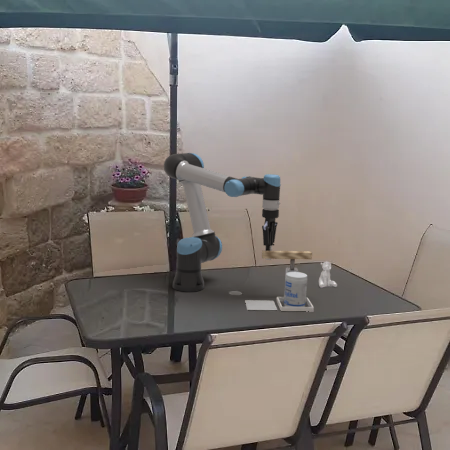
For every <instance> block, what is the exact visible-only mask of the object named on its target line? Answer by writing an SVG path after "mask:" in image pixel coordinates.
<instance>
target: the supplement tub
mask: <svg viewBox="0 0 450 450" xmlns="http://www.w3.org/2000/svg"><path fill="white" fill-rule="evenodd" d="M285 274H286V278H285V277H284V278H285V279H284V292H283V293H284V294H283V297H284V302H283V307H306V303H307V302H306V297H307V286H308V275H307V274H306V273H304V272H300V271H298V272H288V273H286V272H285Z"/></svg>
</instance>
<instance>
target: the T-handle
mask: <svg viewBox="0 0 450 450" xmlns="http://www.w3.org/2000/svg"><path fill="white" fill-rule="evenodd" d="M261 259H263V260H266V259H271V260H274V259H275V260H290V261H289V268H290V269H294V268H295V266H296V264H295V263H296V261H295V260H312V259H313V252H312V251H308V250H306V251H305V250H303V251H301V250H300V251H299V250H272V251H265V250H261Z"/></svg>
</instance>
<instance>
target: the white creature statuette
mask: <svg viewBox="0 0 450 450" xmlns="http://www.w3.org/2000/svg"><path fill="white" fill-rule="evenodd" d="M319 264H320V266H321V267H322V269H323V270H322V271H321V272H320V276H319V278H318V286H319V287H320V289H322V288H326V287H334V288H337V287H338V283H337V282H336V281H334V280H332V279H331V273H330V272H331V269H332V263H331V262H329V261H324V262H323V263H322V262H320V263H319Z"/></svg>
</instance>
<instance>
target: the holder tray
mask: <svg viewBox="0 0 450 450" xmlns="http://www.w3.org/2000/svg"><path fill="white" fill-rule="evenodd" d="M281 302H282V303H284V296H276V304H277V306H278V308H279V311H280V310H281V311H306V312H305V313H314V311H315V310H314V309H315V308H314V305H313V304H312V302H311V301H310V299H309V298H308V297H307V296H306V302H305V303H306V305H308V306H305V307H285V306H282V303H281ZM281 311H280V312H281ZM308 311H309V312H308Z"/></svg>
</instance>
